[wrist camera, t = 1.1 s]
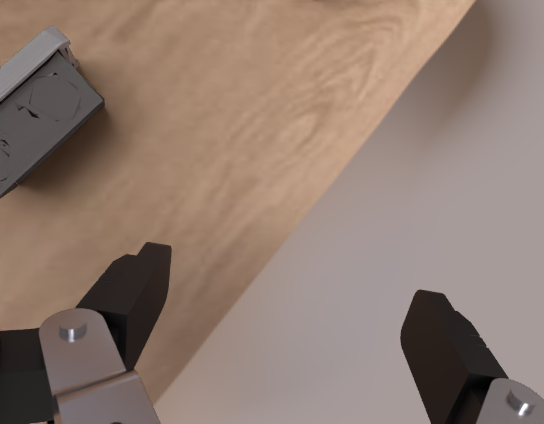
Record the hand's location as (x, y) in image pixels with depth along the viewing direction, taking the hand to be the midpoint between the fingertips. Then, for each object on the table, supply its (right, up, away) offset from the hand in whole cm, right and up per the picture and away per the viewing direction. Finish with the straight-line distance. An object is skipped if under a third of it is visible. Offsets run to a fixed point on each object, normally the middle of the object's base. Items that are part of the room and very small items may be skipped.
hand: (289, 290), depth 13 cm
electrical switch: (-15, +8, +13) cm, 22 cm away
